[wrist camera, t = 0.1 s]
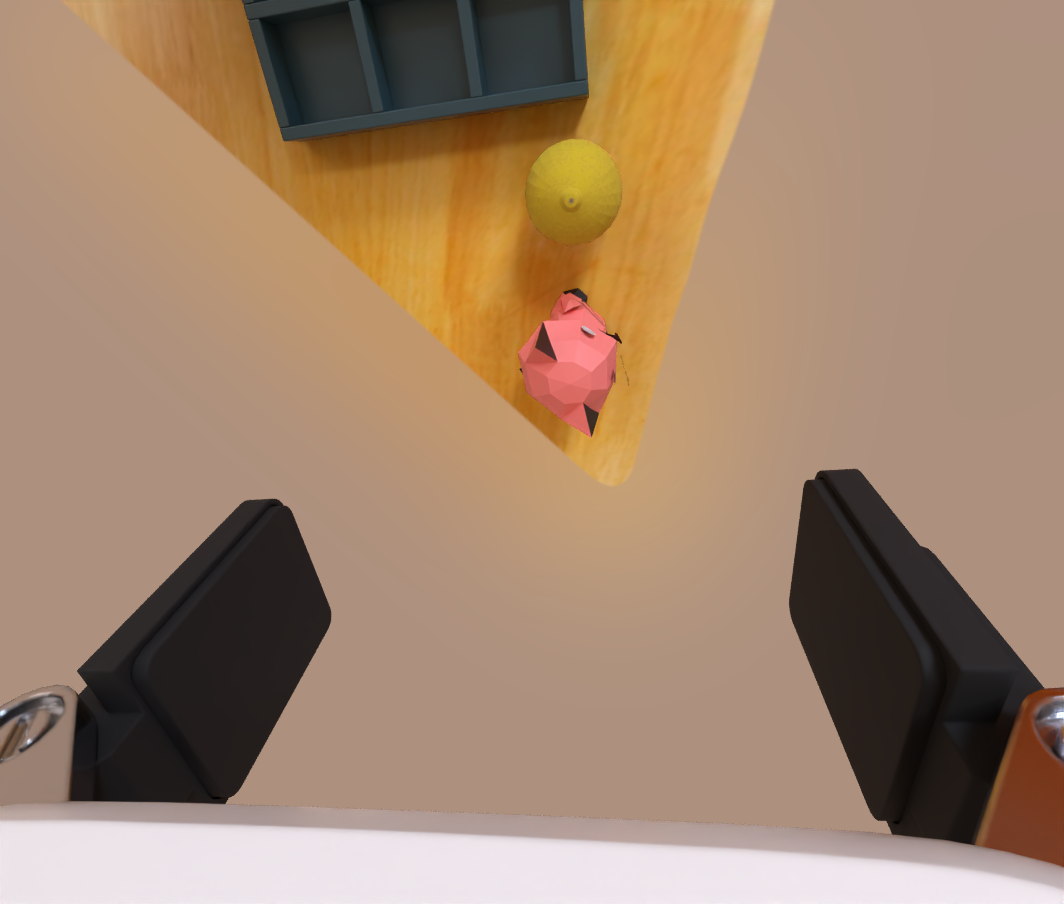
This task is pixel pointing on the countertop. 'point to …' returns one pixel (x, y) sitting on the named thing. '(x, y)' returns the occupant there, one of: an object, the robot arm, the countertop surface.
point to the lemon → (573, 192)
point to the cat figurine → (571, 362)
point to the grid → (413, 60)
